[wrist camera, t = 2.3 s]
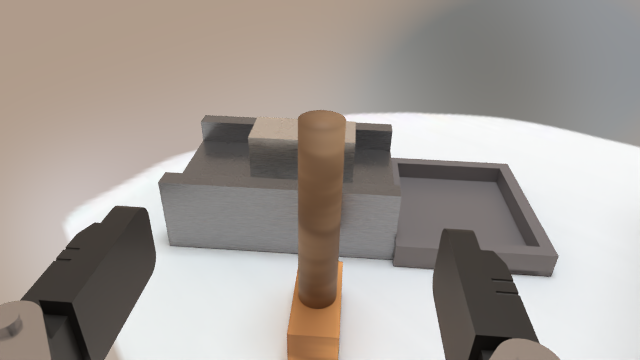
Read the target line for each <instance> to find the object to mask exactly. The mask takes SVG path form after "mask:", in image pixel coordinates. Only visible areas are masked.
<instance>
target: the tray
mask: <svg viewBox="0 0 640 360" xmlns="http://www.w3.org/2000/svg"><path fill="white" fill-rule="evenodd" d="M391 162H392V170H393V179H394V185H399V186H400V190H401V204H400V211H399V218H398V226H397V233H396V240H395V248H394V255H393V266H400V267H415V268H430V269H434V268H435V263H436V258H437V253H438V248H439V243H440V239H441V234H442V231H443V229H444V228H447V229H462V230H473V231H474V233H475V235H476V238H477V241H478V243H479V246H480V249H481V250H490V251H494V252H495V253H496V254H497V255H498V256H499V257H500V258H501V259H502V260H503V261H504V262H505V263H506V264H507V266H508V269H509V271H510V274H523V275H538V276H551V275H552V272H553V270H554V267H555V264H556V262H557V259H558V254H557V253H556V251H555V249H554V247H553V245H552V244H551V242H550V240H549V238H548V236H547V235H546V233H545V231H544V229H543V227H542V226H541V224H540V222H539V220H538V218H537V217H536V215H535V213H534V211H533V209H532V208H531V206H530V204H529V202H528V200H527V199H526V197H525V195H524V193H523V191H522V190H521V188H520V186H519V184H518V182H517V181H516V179H515V177H514V175H513V173H512V172H511V170H510V168H509V166H508V164H497V163H479V162H460V161H441V160H422V159H404V158H391Z"/></svg>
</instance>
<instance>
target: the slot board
mask: <svg viewBox="0 0 640 360" xmlns="http://www.w3.org/2000/svg"><path fill="white" fill-rule="evenodd" d="M256 119H257V118H249V117H228V116H209V115H208V116H207V115H206V116H205V117H204V118H203V120H202V121H201V125H202V133H203V142H202V144H201V145H200V147H199V148H198V150H197V151H196V153H195V155H194V156H193V158H192V159H191V161H190V162H189V164H188V165H187V167H186V169H185V170H184V172H183V173H168V172H165V174H164V175H163V176H162V178H161V179H160V181H159V182H158V184H159V190H160V195H161V200H162V205H163V211H164V216H165V221H166V227H167V232H168V237H169V242H170V245H172V246H188V247H203V248H219V249H234V250H250V251H265V252H281V253H297V254H298V180H292V179H274V178H257V177H251V174H250V159H249V144H248V136H249V134H250V132H251V130H252V128H253V126H254V123H255V121H256ZM391 138H392V126H391V125H390V124H370V123H356V132H355V155H354V170H353V183H345V182H343V186H342V204H341V222H340V240H339V256H343V257H359V258H374V259H390V260H393V255H394V248H395V240H396V233H397V226H398V218H399V211H400V204H401V190H400V186H399V185H394V179H393V170H392V162H391V154H390V147H391Z"/></svg>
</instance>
